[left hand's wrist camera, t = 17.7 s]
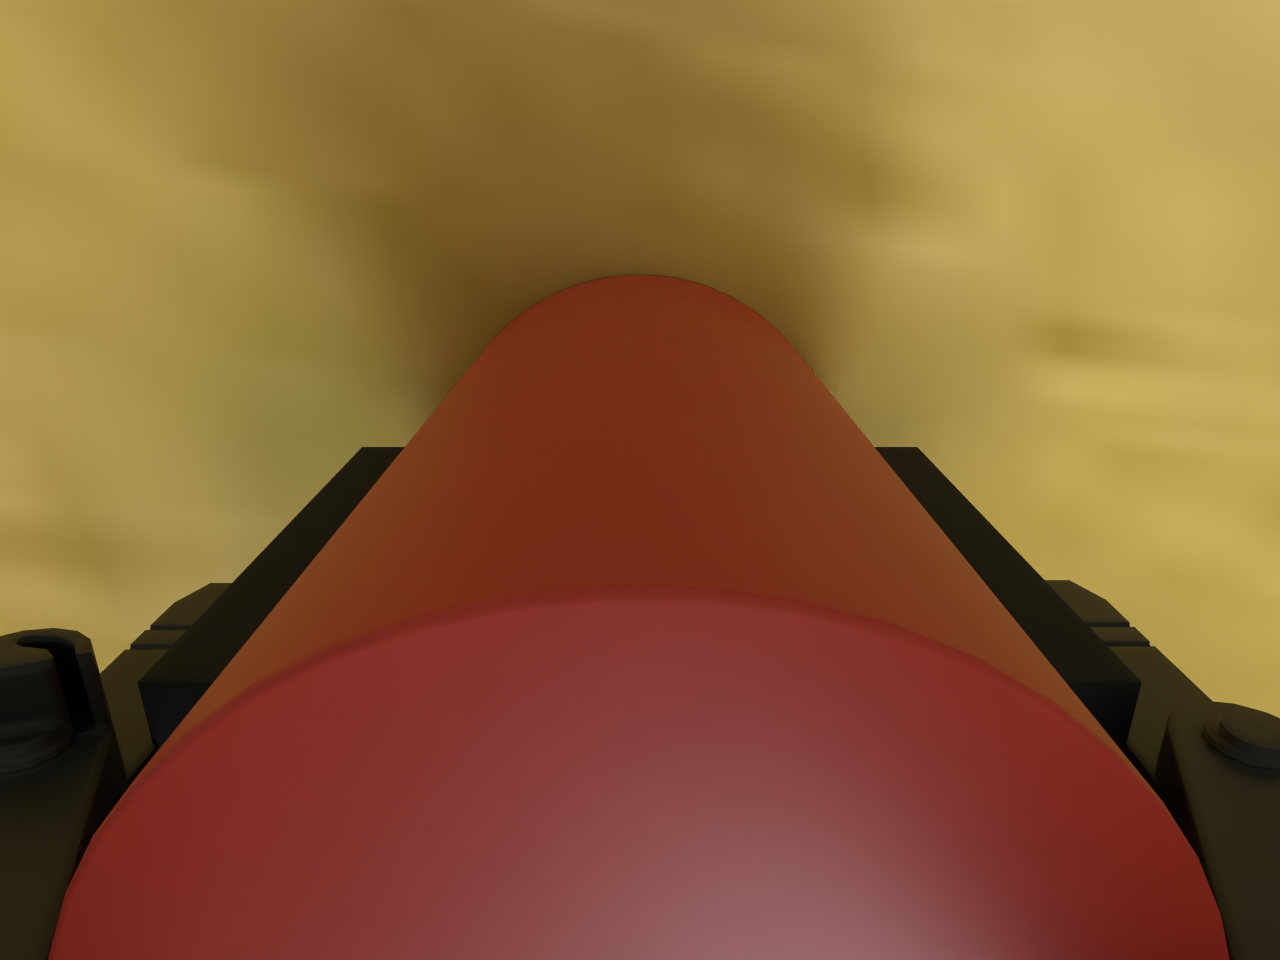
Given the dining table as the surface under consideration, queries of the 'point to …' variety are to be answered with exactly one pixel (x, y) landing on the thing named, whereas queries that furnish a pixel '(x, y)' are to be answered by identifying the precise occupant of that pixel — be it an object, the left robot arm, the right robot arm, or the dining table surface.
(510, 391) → the can
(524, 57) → the dining table surface
